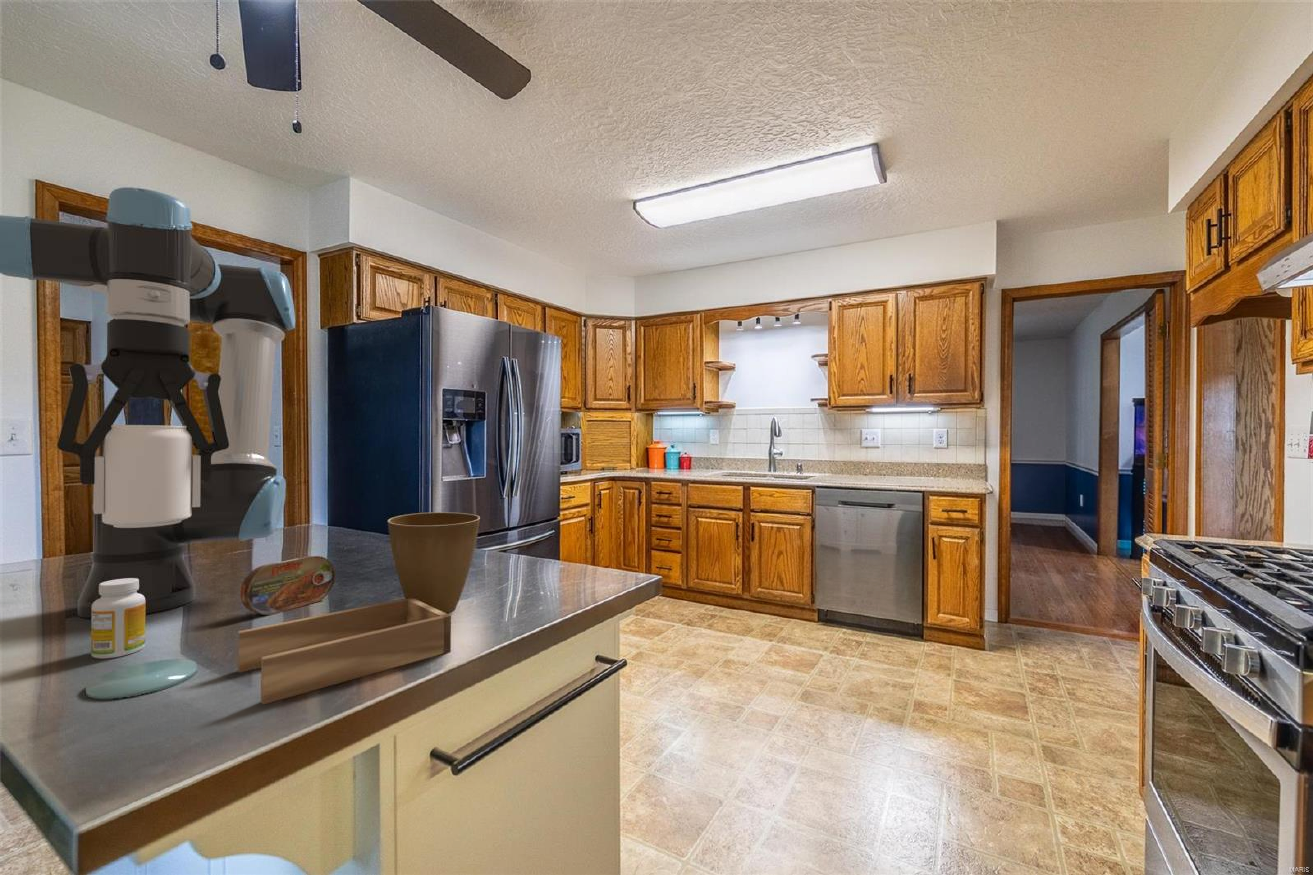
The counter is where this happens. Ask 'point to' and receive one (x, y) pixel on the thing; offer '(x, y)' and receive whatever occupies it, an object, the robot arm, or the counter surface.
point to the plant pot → (433, 555)
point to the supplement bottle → (118, 619)
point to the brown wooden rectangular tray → (342, 646)
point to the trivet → (141, 679)
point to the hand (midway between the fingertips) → (148, 508)
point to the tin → (287, 585)
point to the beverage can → (147, 475)
